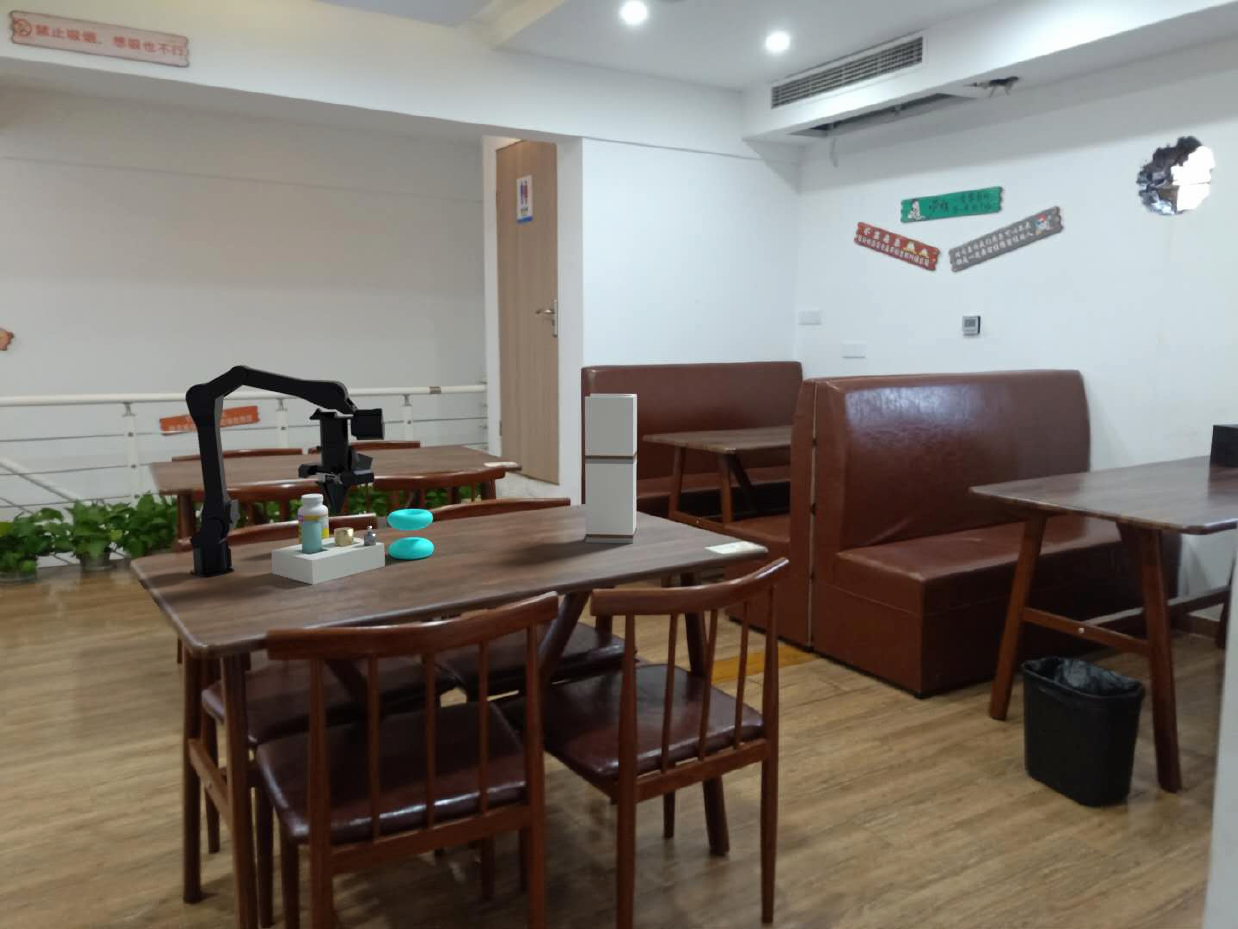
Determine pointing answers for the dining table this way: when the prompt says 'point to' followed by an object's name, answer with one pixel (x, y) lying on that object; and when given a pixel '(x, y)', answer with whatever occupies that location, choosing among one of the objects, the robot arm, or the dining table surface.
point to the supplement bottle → (313, 513)
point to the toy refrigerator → (610, 467)
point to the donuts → (412, 545)
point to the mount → (327, 561)
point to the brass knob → (344, 537)
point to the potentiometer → (369, 538)
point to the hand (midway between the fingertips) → (337, 513)
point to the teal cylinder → (311, 537)
